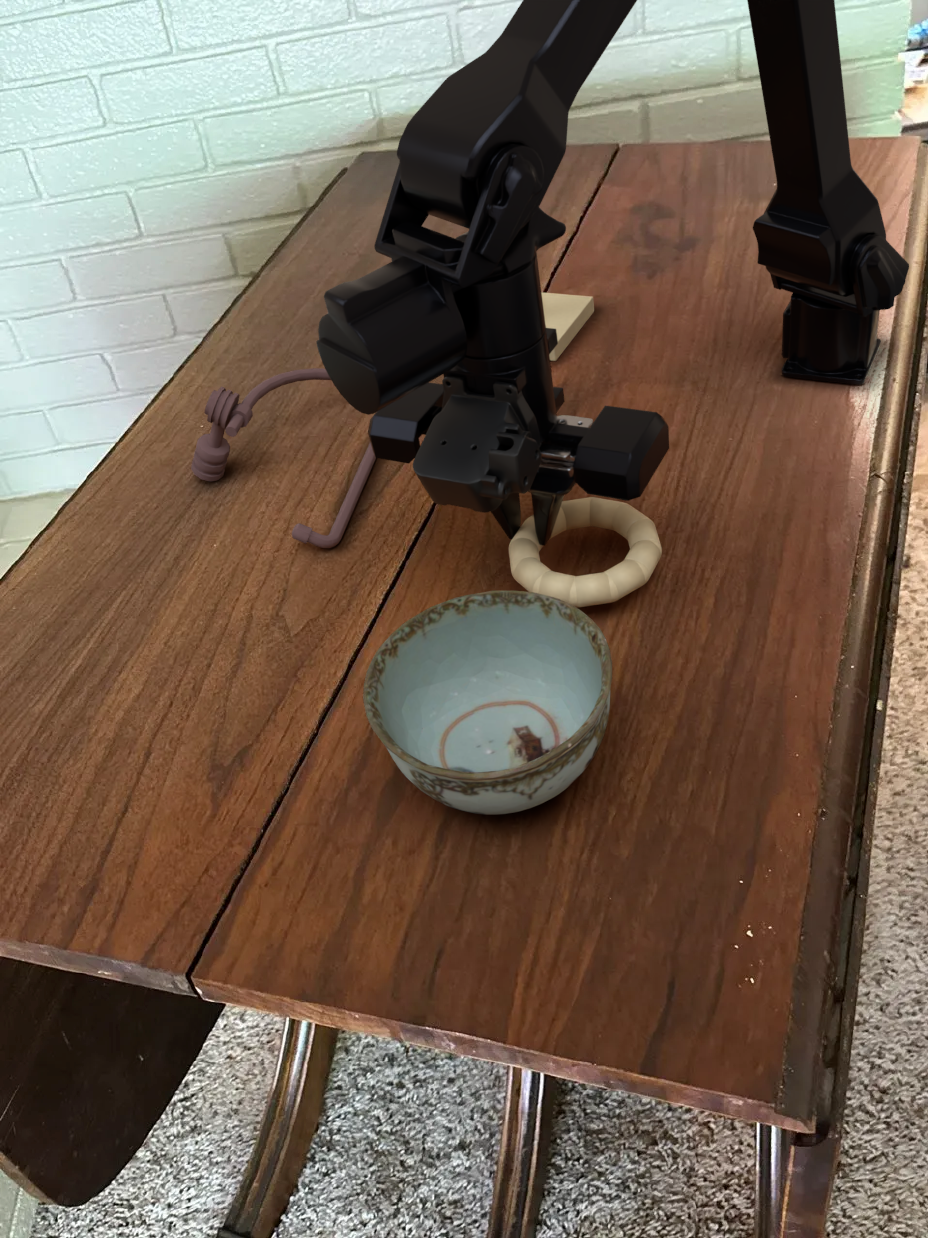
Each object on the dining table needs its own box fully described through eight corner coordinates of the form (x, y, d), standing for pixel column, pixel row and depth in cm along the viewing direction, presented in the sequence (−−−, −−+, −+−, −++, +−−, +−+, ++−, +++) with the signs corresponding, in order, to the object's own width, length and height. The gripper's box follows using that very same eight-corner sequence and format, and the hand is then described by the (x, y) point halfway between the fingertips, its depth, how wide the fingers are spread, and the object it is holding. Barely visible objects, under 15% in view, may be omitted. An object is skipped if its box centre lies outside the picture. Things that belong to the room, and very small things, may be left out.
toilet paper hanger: (340, 540, 79) (159, 463, 77) (311, 610, 85) (142, 540, 83) (409, 379, 94) (259, 312, 92) (380, 449, 100) (239, 387, 98)
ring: (681, 529, 74) (680, 506, 73) (628, 626, 68) (626, 603, 67) (547, 504, 78) (544, 482, 77) (486, 594, 72) (482, 571, 71)
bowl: (666, 811, 59) (660, 714, 53) (436, 905, 57) (406, 814, 52) (566, 654, 69) (552, 558, 63) (366, 729, 67) (335, 637, 61)
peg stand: (594, 311, 100) (588, 244, 96) (555, 361, 95) (547, 292, 91) (507, 303, 104) (498, 238, 100) (465, 351, 99) (454, 285, 95)
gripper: (294, 388, 63) (355, 588, 73) (592, 431, 55) (614, 648, 65) (388, 296, 69) (433, 490, 80) (667, 321, 61) (676, 534, 72)
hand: (529, 538), depth 74 cm, fingers closed on ring, 2 cm apart
